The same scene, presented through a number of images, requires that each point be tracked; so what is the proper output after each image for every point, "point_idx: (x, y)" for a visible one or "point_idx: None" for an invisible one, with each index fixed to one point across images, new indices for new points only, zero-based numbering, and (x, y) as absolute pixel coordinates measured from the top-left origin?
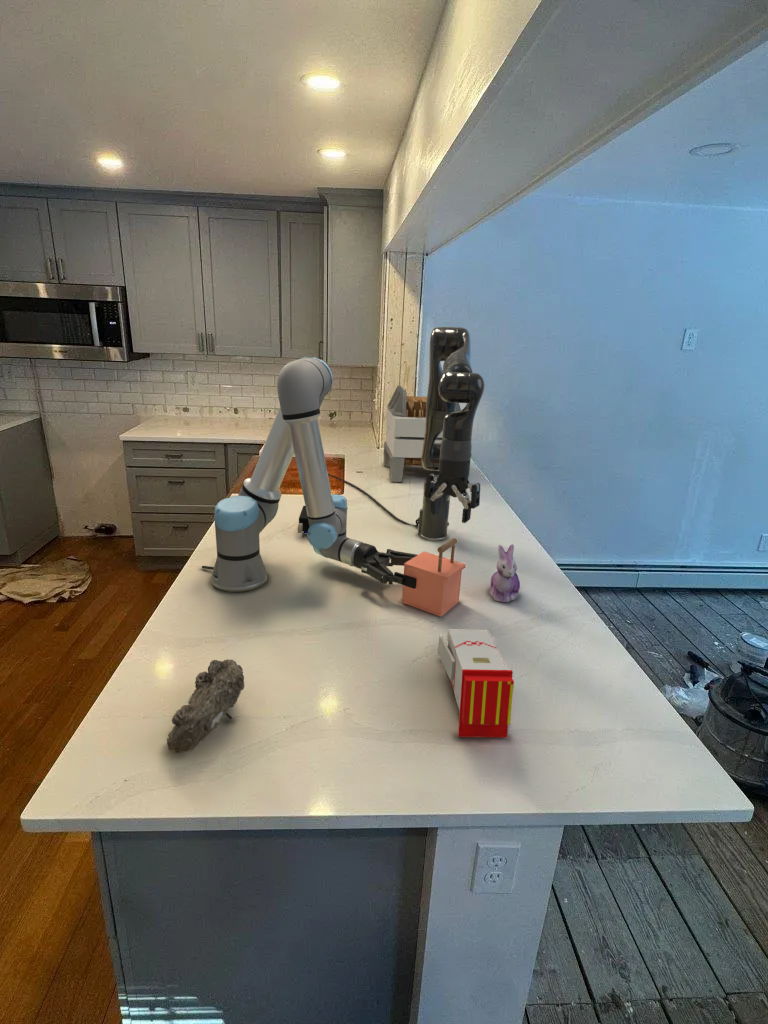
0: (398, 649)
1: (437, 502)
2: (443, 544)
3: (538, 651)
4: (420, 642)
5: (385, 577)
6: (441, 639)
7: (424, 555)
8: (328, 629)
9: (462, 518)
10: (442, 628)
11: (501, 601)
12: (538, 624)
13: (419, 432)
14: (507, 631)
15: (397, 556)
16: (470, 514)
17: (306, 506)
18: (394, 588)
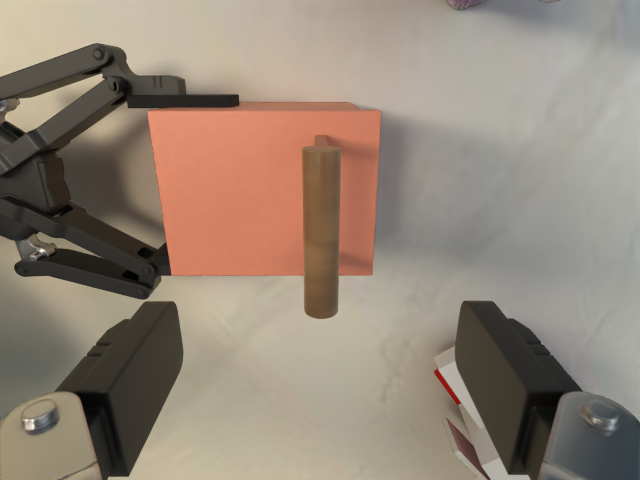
0: (335, 386)
1: (128, 414)
2: (312, 274)
3: (630, 214)
4: (361, 343)
5: (150, 294)
6: (465, 464)
7: (181, 153)
8: (172, 410)
9: (470, 388)
10: (376, 265)
11: (477, 3)
12: (619, 72)
13: None
14: (536, 173)
15: (51, 126)
16: (551, 360)
17: None
18: (139, 156)
